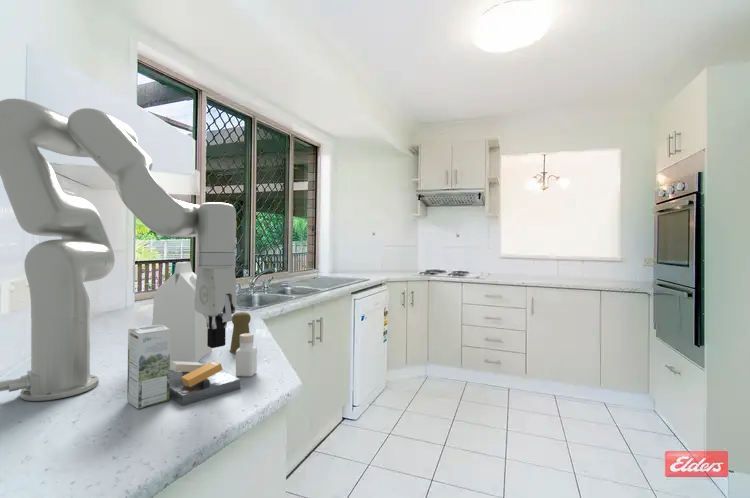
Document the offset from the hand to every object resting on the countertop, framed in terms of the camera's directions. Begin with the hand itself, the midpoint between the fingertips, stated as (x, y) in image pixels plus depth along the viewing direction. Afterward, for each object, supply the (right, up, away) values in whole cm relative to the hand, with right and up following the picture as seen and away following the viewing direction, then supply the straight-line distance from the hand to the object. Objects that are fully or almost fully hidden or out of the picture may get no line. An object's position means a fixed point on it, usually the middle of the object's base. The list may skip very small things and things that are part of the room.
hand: (216, 346), depth 80 cm
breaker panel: (-4, -9, 0) cm, 10 cm away
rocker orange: (-2, -5, -2) cm, 6 cm away
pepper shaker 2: (+3, -9, +9) cm, 13 cm away
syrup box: (-10, -9, -7) cm, 16 cm away
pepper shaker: (-5, -9, +30) cm, 31 cm away
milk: (-19, -9, +23) cm, 31 cm away
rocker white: (-7, -5, +2) cm, 9 cm away
